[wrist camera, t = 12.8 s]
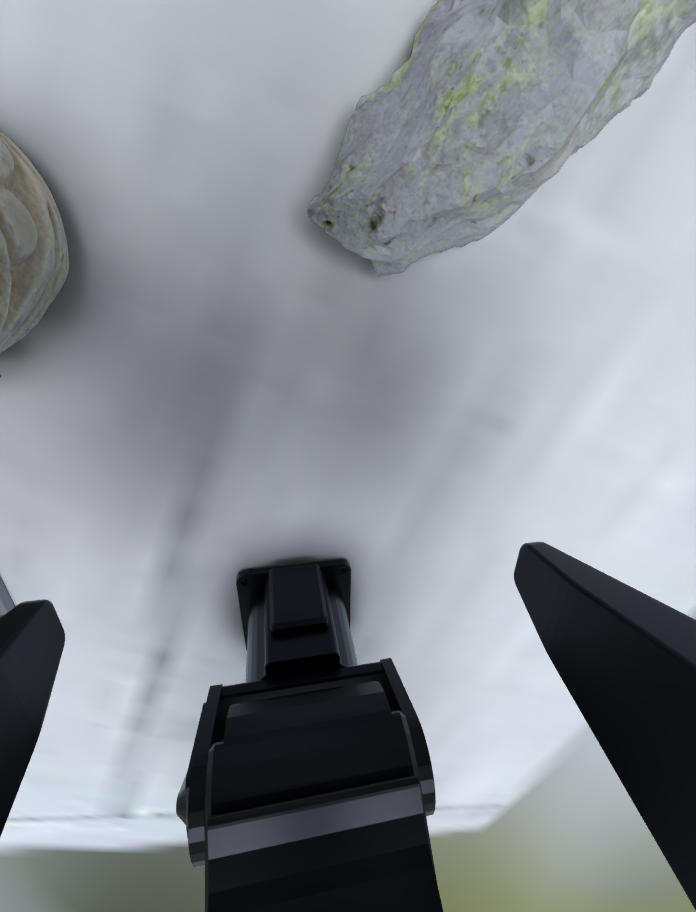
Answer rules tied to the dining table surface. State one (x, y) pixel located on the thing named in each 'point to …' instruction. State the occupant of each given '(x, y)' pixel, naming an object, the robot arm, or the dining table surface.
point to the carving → (27, 245)
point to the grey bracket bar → (4, 600)
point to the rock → (486, 118)
